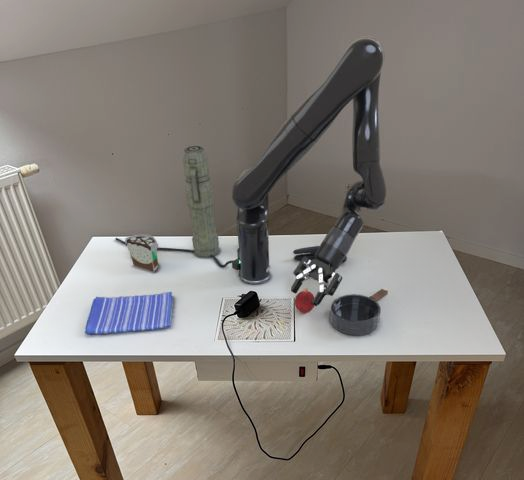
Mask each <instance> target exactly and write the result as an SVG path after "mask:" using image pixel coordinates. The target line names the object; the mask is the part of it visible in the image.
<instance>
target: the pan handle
mask: <svg viewBox="0 0 524 480" xmlns="http://www.w3.org/2000/svg"><path fill="white" fill-rule="evenodd" d="M388 293H389V291H388V290H386V289H384V288H381V289H380V290H378V291H376V292H374V293H373V294H371V295H370V296H368V297H369V298H372V299H374V300H375V301H376V302H377V303H378V302H379V301H381V300H382V299H383V298H385V297H386V296H387V295H388Z"/></svg>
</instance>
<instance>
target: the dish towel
mask: <svg viewBox="0 0 524 480" xmlns="http://www.w3.org/2000/svg"><path fill="white" fill-rule="evenodd" d="M172 294H173V292H172V291H167V292H162V293H155V294H142V295H130V296H129V295H128V296H118V297H117V296H114V297H107V296H95V297H94V298H93V300H92V303H91V307H90V311H89V314H88V317H87V320H86V323H85V330H84V333H85V334H86V335H100V334H101V335H103V334H105V335H106V334H117V333H127V332H139V331H141V332H142V331H143V332H144V331H150V330H151V331H152V330H153V331H154V330H159V329H167V328H170V327H171V323H172V316H173V307H174V305H173V304H174V297H173V296H174V295H172Z"/></svg>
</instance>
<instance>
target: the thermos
mask: <svg viewBox="0 0 524 480" xmlns="http://www.w3.org/2000/svg"><path fill="white" fill-rule="evenodd" d="M208 160H209V159H208V155H207V152H206V150H205V149H204V147H202V146H199V145H191V146H188V147H186V148H185V149H183V156H182V163H183V171H184V176H185V188H184V191H185V198H186V204H187V207H188V208H189V216H190V223H191V224H190V225H191V229H192V238H191V241H192V247H193V250H194V251H195V253H194V255H195V256H196V257H197V258H201V259H209V258H210V259H211V257H210V255H213V256H215V257H216V256H217V255H218V254H219V253H220V248H219V246H220V242H219V241H220V240H219V234H218V232H217V227H216V219H215V210H214V205H215V197H214V186H213V184H212V182H211V178H210V175H209V174H210V169H209V167H210V166H209V161H208Z"/></svg>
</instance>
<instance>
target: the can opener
mask: <svg viewBox="0 0 524 480" xmlns="http://www.w3.org/2000/svg"><path fill="white" fill-rule="evenodd" d="M319 246H320V245H314V246H307V247H300V248H296V249H294V250H293V251H292V253H293V255H294V256H293V259H294V260H295V261H301V260H302V259H303V257H305V256H306V257H307V258H308V259H310V260H313V259H314V257H315V253H316V251H317V250H318V248H319ZM347 260H348V256H347V255H346V256H345V258H344V260H343V261H342V263H341V264H344V263H346V262H347ZM341 264H340V265H341Z"/></svg>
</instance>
